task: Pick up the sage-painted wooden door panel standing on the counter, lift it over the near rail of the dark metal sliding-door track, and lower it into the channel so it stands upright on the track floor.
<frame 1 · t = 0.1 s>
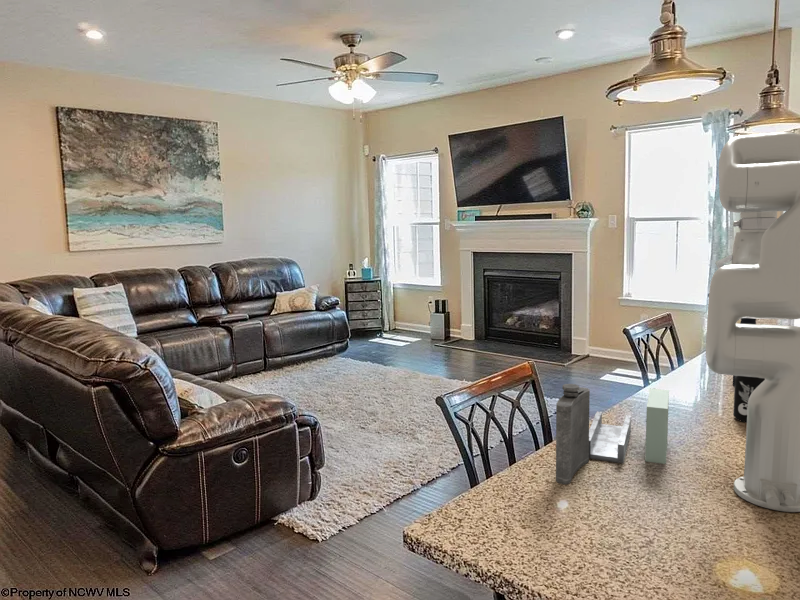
hand: (754, 295, 141), 31 cm above the kitchen island countertop, fingers open, 9 cm apart
door panel: (656, 450, 127), on the kitchen island countertop
wine bottle: (744, 386, 172), on the kitchen island countertop
door track: (608, 443, 132), on the kitchen island countertop
flask: (570, 470, 119), on the kitchen island countertop
beverage can: (748, 420, 144), on the kitchen island countertop
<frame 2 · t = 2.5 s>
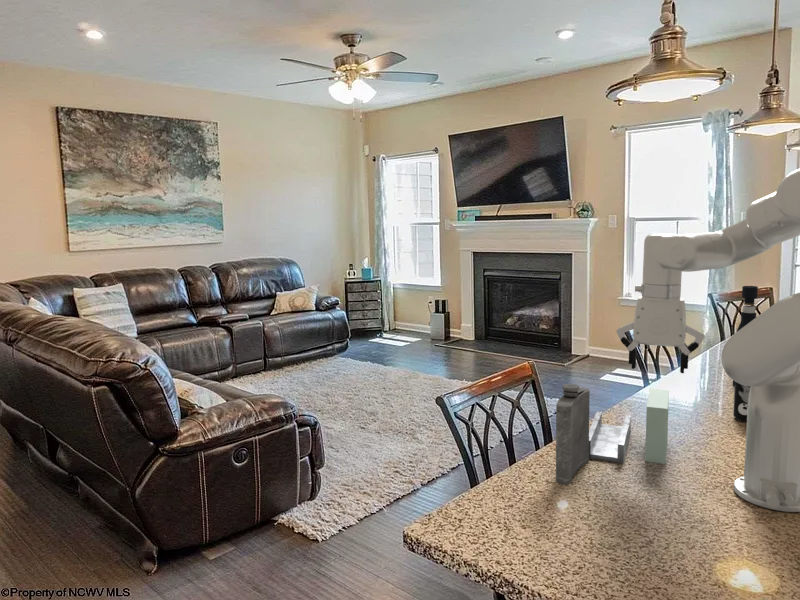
hand: (657, 369, 125), 18 cm above the kitchen island countertop, fingers open, 9 cm apart
nothing on the kitchen island countertop moved.
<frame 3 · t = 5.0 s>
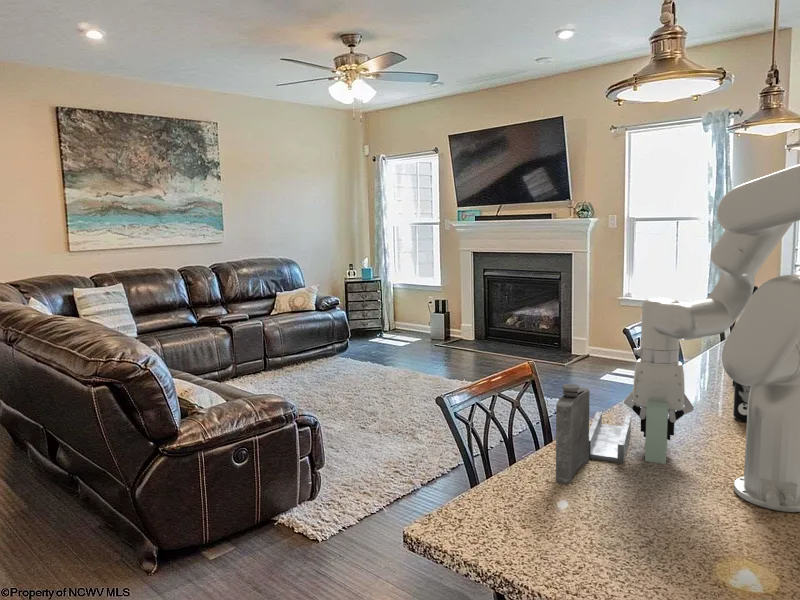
hand: (657, 435, 127), 3 cm above the kitchen island countertop, fingers closed on door panel, 4 cm apart
door panel: (656, 450, 127), on the kitchen island countertop, touching gripper
everything else where it was.
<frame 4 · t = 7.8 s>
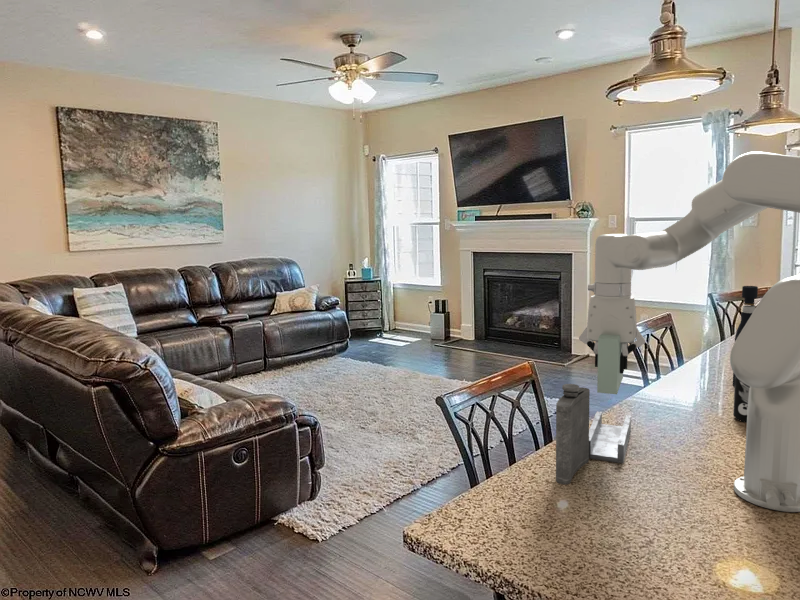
hand: (610, 370, 129), 17 cm above the kitchen island countertop, fingers closed on door panel, 4 cm apart
door panel: (610, 384, 130), point 14 cm above the kitchen island countertop, touching gripper
everything else where it was.
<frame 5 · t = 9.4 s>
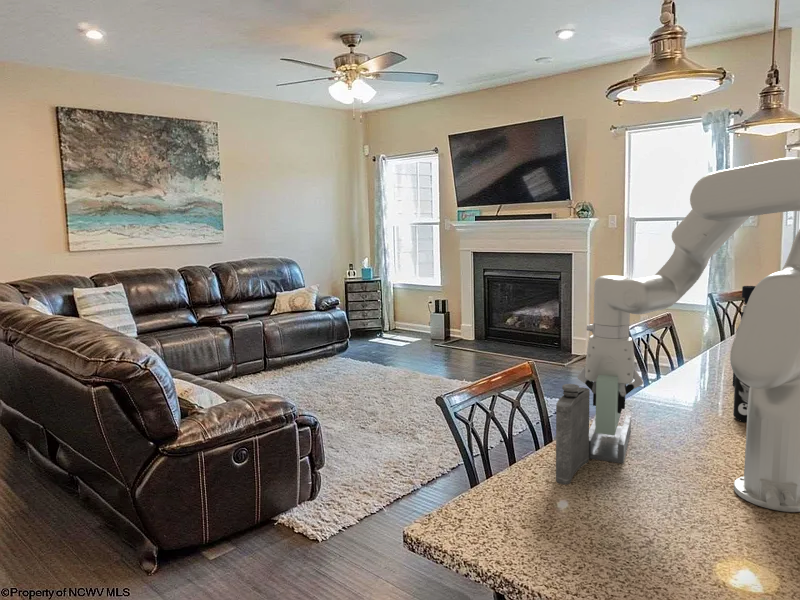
hand: (608, 409, 131), 8 cm above the kitchen island countertop, fingers closed on door panel, 4 cm apart
door panel: (608, 423, 131), point 5 cm above the kitchen island countertop, touching gripper
everything else where it was.
when the fingers open (5 cm above the kitchen island countertop, at t = 10.7 s): door panel stays where it is, resting on door track.
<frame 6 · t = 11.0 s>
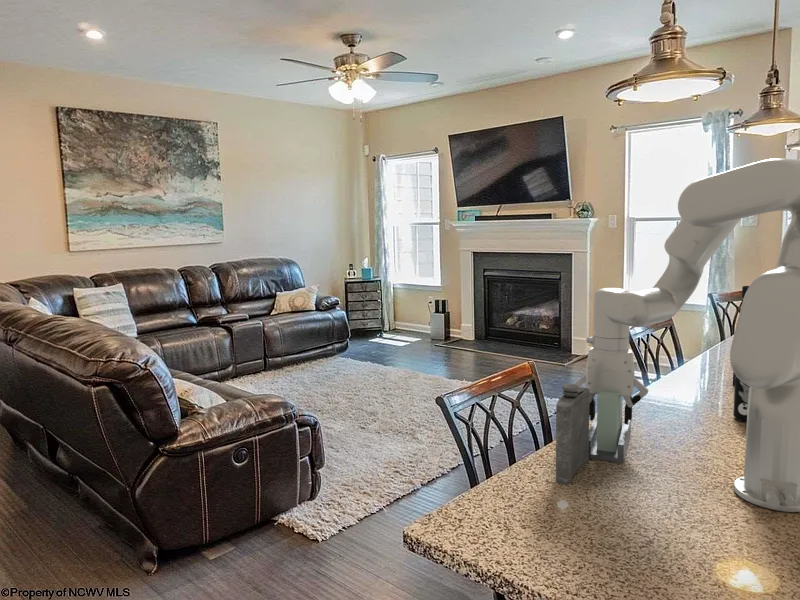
hand: (609, 419, 131), 6 cm above the kitchen island countertop, fingers open, 6 cm apart
door panel: (609, 439, 131), point 1 cm above the kitchen island countertop, touching door track
everything else where it was.
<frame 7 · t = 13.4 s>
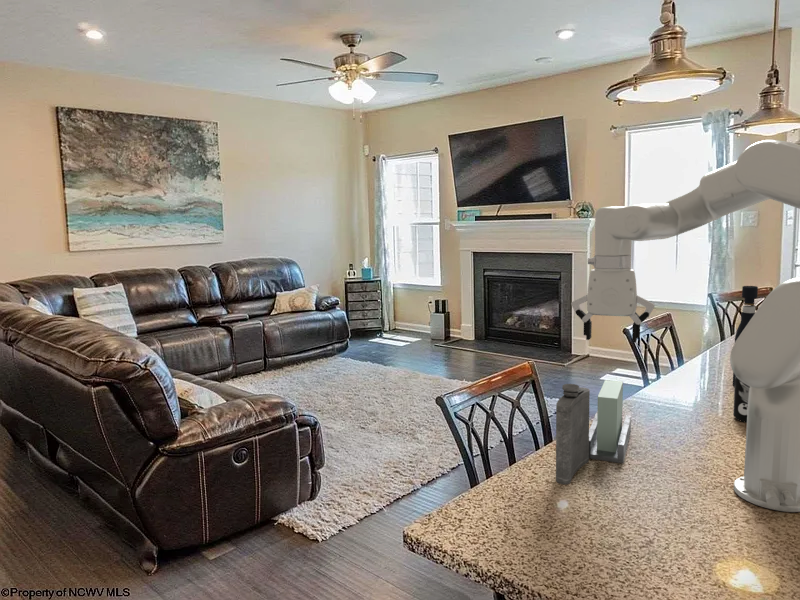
hand: (611, 340, 128), 24 cm above the kitchen island countertop, fingers open, 9 cm apart
nothing on the kitchen island countertop moved.
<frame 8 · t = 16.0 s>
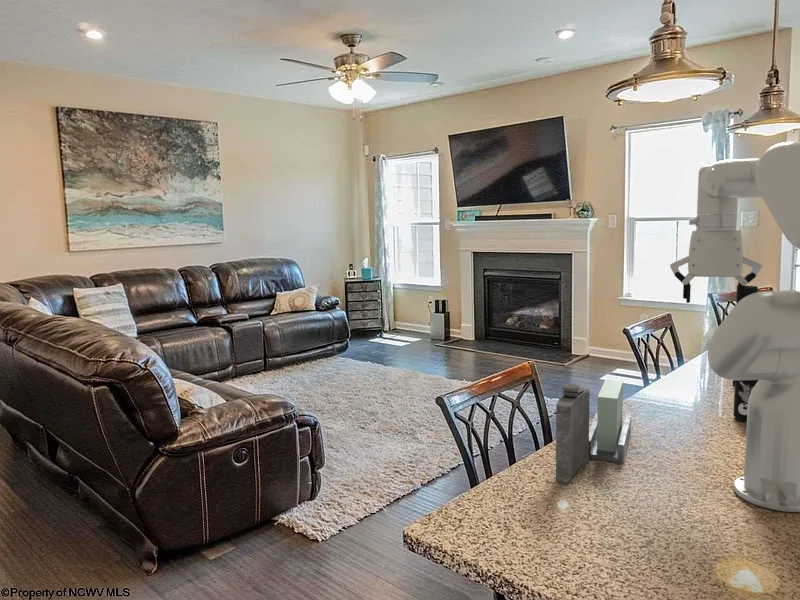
hand: (712, 302, 125), 32 cm above the kitchen island countertop, fingers open, 9 cm apart
nothing on the kitchen island countertop moved.
at the end: door panel inside the target area on the door track (0.2 cm from its centre), point 1.0 cm above the door track's base; door panel tilted 0°; the gripper is holding nothing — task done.
